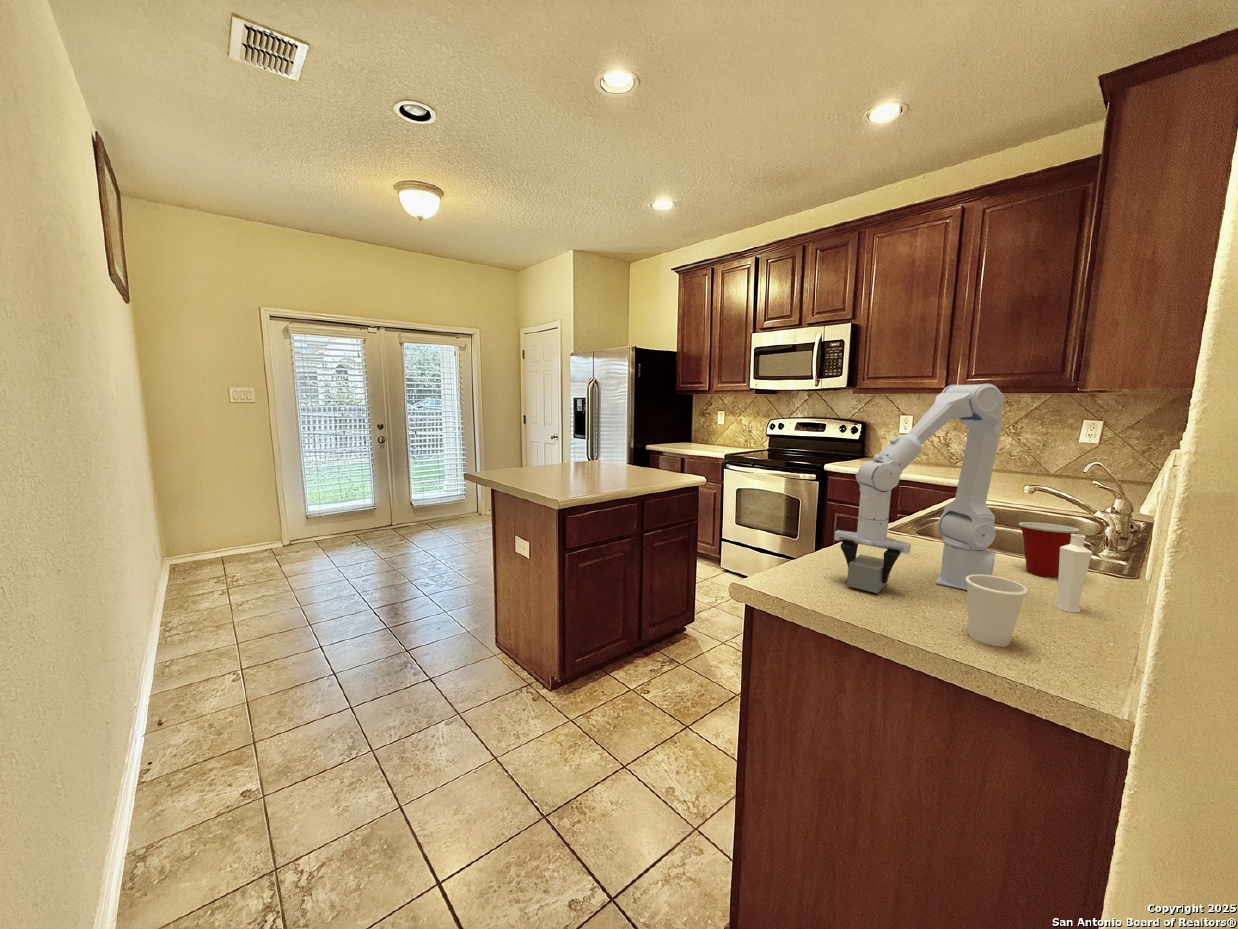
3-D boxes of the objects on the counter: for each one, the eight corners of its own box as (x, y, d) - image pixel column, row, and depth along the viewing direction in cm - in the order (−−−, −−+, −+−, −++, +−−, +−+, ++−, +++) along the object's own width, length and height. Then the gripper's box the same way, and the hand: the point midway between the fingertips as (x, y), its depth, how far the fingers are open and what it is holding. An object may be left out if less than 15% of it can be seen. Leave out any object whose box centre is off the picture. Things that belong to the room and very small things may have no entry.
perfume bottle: (1077, 615, 93) (1089, 540, 91) (1048, 606, 97) (1059, 534, 95) (1087, 611, 95) (1099, 537, 93) (1059, 602, 99) (1070, 531, 97)
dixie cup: (1033, 648, 81) (1041, 590, 79) (991, 653, 79) (999, 594, 77) (985, 625, 89) (992, 572, 87) (947, 629, 87) (953, 575, 86)
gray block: (887, 582, 108) (889, 560, 107) (877, 593, 101) (879, 570, 100) (858, 575, 112) (860, 554, 111) (846, 585, 105) (848, 563, 104)
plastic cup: (1048, 566, 121) (1055, 519, 119) (1085, 583, 110) (1093, 531, 109) (1001, 564, 122) (1007, 518, 120) (1033, 580, 111) (1040, 529, 110)
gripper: (832, 514, 106) (827, 574, 108) (908, 527, 96) (901, 592, 98) (841, 509, 111) (837, 566, 113) (915, 520, 102) (908, 582, 104)
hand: (867, 578), depth 106 cm, fingers closed on gray block, 6 cm apart
